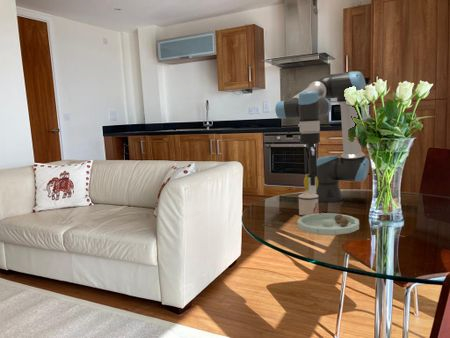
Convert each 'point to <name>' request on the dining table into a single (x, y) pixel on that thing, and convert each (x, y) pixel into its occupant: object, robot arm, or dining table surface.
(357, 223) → the tray
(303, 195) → the teacup with lid
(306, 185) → the lemon
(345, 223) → the walnut bead
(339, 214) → the walnut bead
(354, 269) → the dining table surface
